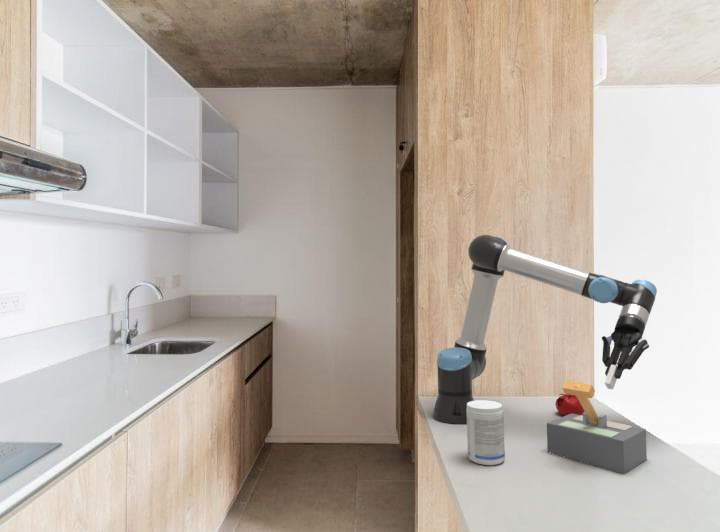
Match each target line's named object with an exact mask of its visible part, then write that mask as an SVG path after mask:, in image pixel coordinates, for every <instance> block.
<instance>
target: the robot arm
mask: <svg viewBox="0 0 720 532" xmlns="http://www.w3.org/2000/svg"><path fill="white" fill-rule="evenodd" d="M467 250H468V258H469V259H470V261H471V263H472V266H471V271H472V273H473V274H474V276H473V279H472V284H471V289H470V293H469V298H468V304H467V306H466V312H465V316H464V321H463V325H462V330H461V334H460V337H459V338H456V340H455V341H454V347H449V348H444V349H441V350H440V351H439V352H438V353H437V360H436V364H437V366H436V367H437V391H438V392H437V398H436V401H435V404H434V408H433V418H434V419H435V420H436V421H439V422H442V423H446V424H453V425H455V424H457V425H459V424H467V412H466V411H467V410H466V409H467V403H468V402H470V401H475V400H474V397H473V380H475V379H477V378H478V377H480V376H481V375H482V374H483V372H484V371H485V369H486V365H487V358H486V354H487V345H486V344H485V339H486V334H487V329H488V326H489V320H490V317H491V312H492V308H493V304H494V299H495V296H496V290H497V286H498V282H499V280H500V279H502V278H504V274H505V271H506V272H508V273H513V274H515V275H519V276H522V277H525V278H528V279H531V280H534V281H537V282H540V283H543V284H545V285H549V286H552V287H555V288H558V289H562V290H564V291H567V292H570V293H573V294H577V295H579V296H581V297H584V298H588V299H590V300H593V301H595V302H597V303H600V304H608V303H611V304H615V305H618V306H621V307H622V308H621V311H620V313H619V315H618V319H617V321H616V324H615V326H614V331H613V332H612V333H611V334H610V336H607V337H606V336H605V335H603V336H601V341H602V343H603V344H602V356H601V357H602V359H601V360H602V363H603V365H604V367H606V369H605V372H604V374H605V376H606V377H605V381H604V385H605V386H606V388H607V390H614V388H615V386H616V383H617V379H618V380H619V379H621V377H622V375H623V372H624V370H632V369H633V367H634V366H635V364H636V363H637V362H638V360H639V359H640V357H641V356H642V355H643V353H644V352H645V351H646V350H647V349H649V348H650V345H649V342H648V340H647V339H643V335H644V332H645V330H646V326H647V323H648V320H649V317H650V315H651V312H652V309H653V307H654V303H655V302H656V301H655V300H656V296H657V291H658V289H657V287H656V286H655V283H652V282H651V281H649V280H647V279H646V280H645V279H636V280H634V281H632V282H631V283H628V282H624V281H622V280H618V279H614V278H612V277H608V276H605V275H603V274H597V273H592V272H589V271H585V270H582V269H580V268H576V267H573V266H570V265H566V264H564V263H560V262H557V261H553V260H551V259H547V258H544V257H542V256H539V255H534V254H531V253H528V252H524V251H522V250H517V249H515V248H512V247H511V245H510V244H509V243H507V241H505V240H504V239H503V238H501V237H498V236H493V235H490V234H482V235H479V236H476V237H475V238H473V239H472V241H471V242H470V243H469V245H468V249H467ZM612 341H613V349H612V351H611V345H612Z"/></svg>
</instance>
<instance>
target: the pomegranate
mask: <svg viewBox="0 0 720 532" xmlns="http://www.w3.org/2000/svg"><path fill="white" fill-rule="evenodd" d="M555 408H556V410H557V413H558V414H559V415H560V416H561V417H564V416H566V415H569V414H571V413H572V414H577V415H582V416H583V413H585V411H584V409H583V407H582V405H581V404H580V402H579V400H578V398H577V396H576V395H570V394H565V392H564V391H563V393H560V394H559V396H558V398H557V399H556V400H555Z"/></svg>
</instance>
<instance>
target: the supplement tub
mask: <svg viewBox="0 0 720 532" xmlns="http://www.w3.org/2000/svg"><path fill="white" fill-rule="evenodd" d="M466 410H467V411H466V412H467V423H466V435H467V436H466V437H467V457H468V459H469V460H470V461H472V462H474V463H475V464H478V465H479V464H480V465H483V466H495V465H500V464H502V463H503V462H505V459H506V457H505V456H506V452H505V429H504V428H505V425H504V424H505V423H504V410H503V404H502V403H501V402H498V401H494V400H486V399H483V400H481V399H480V400H479V399H478V400H474V401H470V402H468V403H467V409H466Z"/></svg>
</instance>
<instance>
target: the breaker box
mask: <svg viewBox="0 0 720 532" xmlns="http://www.w3.org/2000/svg"><path fill="white" fill-rule="evenodd" d="M607 415H608V414H604V413H603V414H601V415H598V418H599V424H598V425H593V424H592V423H591V422H590V420H589V418H588V417H587V415H586V413H583V415H577V414H572V413H571V414H569V415H566V416H561V417H558V418H556V419H554V420H551V421H549V422H546V446H547V453H549V452H551V453H550V454H552V453H554V454H553V455H556V454H558V455H557V456H559V455H561V456H560V457H563V456H565V457H564V458H566V457H568V458H567V459H569V458H572V459H571V460H573V459H575V460H574V461H576V460H578V461H577V462H580V461H582V462H581V463H583V462H585V463H584V464H587V463H588V465H590V464H591V466H594V465H595V466H594V467H597V466H598V468H601V469H604V468H605V469H604V470H608V471H612V472H615V473H618V474H621V475H625V474H627V473H629V472H630V471H632V470H633V469H635V468H636V467H639V466H640V465H641V464H642V463H644V462H646V461H647V460H648V459H647V458H648V457H647V452H648V451H647V429H646V428H642V427H637V426H633V425H629V424H628V425H627V424H624V423H619V422H614V421H610V420H608V419H607V417H608V416H607Z"/></svg>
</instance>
